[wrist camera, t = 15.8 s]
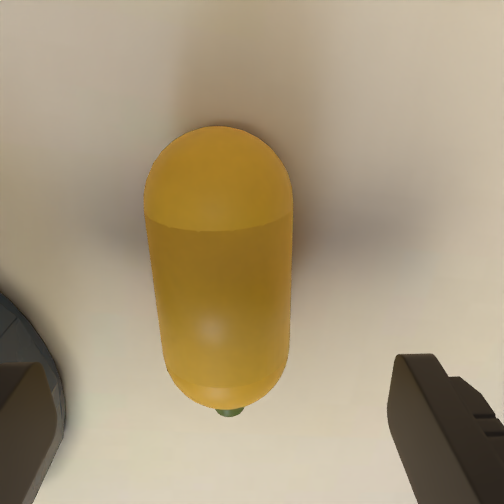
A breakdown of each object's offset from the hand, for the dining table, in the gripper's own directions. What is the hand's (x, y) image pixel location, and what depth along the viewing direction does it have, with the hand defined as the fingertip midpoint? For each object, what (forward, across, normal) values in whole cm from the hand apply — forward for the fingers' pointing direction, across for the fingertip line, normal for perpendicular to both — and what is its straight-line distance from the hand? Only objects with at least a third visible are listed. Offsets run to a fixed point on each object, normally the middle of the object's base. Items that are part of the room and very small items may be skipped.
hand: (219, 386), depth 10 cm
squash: (+7, 0, 0) cm, 7 cm away
